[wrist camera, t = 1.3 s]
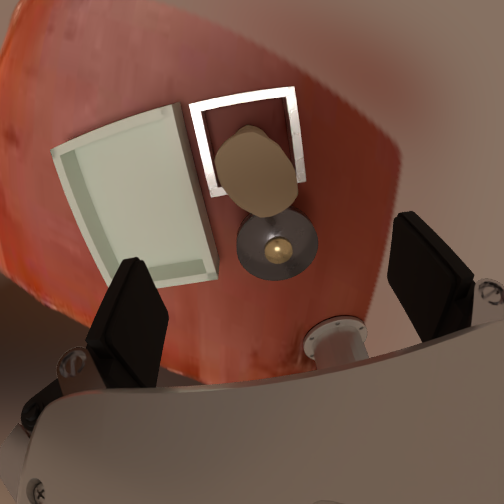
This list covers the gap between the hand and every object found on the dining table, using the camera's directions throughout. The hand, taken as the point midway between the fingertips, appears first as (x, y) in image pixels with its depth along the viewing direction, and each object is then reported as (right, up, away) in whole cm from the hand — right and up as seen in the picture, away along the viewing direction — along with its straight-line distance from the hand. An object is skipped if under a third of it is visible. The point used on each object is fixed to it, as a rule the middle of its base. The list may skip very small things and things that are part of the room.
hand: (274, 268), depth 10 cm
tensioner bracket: (0, +10, +24) cm, 26 cm away
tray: (-15, +7, +25) cm, 30 cm away
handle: (-1, +14, +22) cm, 26 cm away
